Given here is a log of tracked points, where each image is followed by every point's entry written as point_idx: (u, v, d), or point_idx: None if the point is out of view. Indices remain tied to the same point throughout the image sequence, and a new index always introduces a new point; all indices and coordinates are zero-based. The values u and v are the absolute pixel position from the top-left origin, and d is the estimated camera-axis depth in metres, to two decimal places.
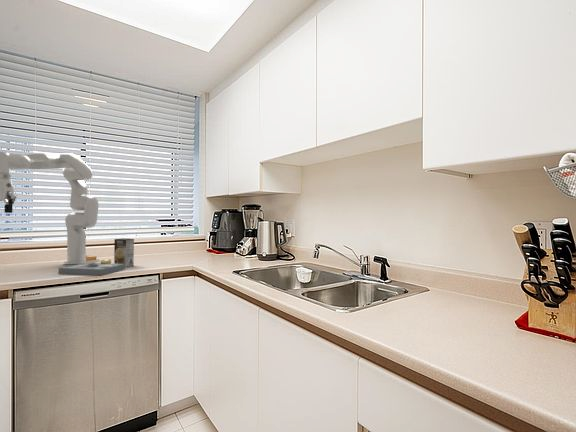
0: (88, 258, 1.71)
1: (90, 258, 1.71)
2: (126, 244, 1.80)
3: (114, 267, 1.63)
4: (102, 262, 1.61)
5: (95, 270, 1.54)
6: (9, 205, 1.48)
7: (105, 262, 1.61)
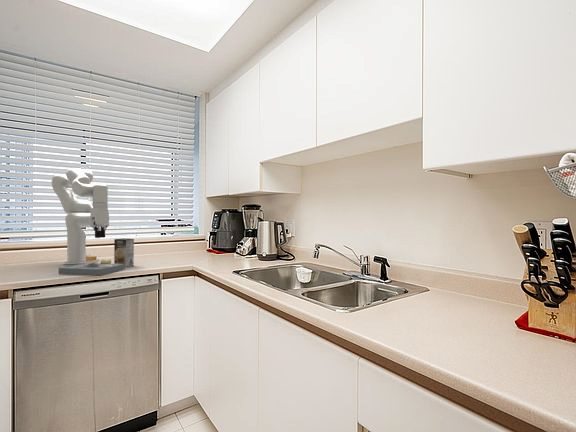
0: (88, 258, 1.71)
1: (90, 258, 1.71)
2: (126, 244, 1.80)
3: (114, 267, 1.63)
4: (102, 262, 1.61)
5: (95, 270, 1.54)
6: None
7: (105, 262, 1.61)
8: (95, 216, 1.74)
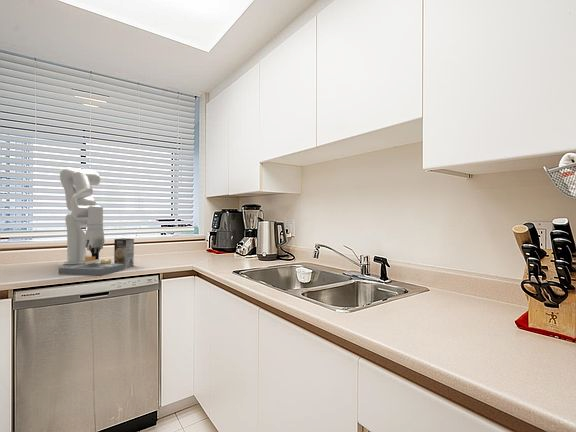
0: (87, 258, 1.70)
1: (89, 258, 1.70)
2: (126, 244, 1.80)
3: (114, 267, 1.63)
4: (102, 262, 1.61)
5: (95, 270, 1.54)
6: None
7: (105, 262, 1.61)
8: (90, 239, 1.70)
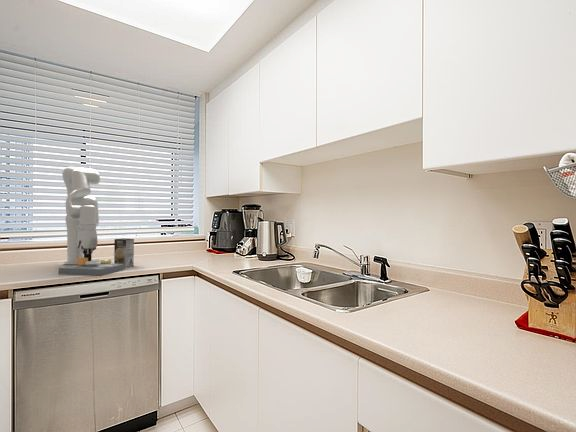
0: (79, 259, 1.65)
1: (81, 259, 1.65)
2: (126, 244, 1.80)
3: (114, 267, 1.63)
4: (102, 262, 1.61)
5: (95, 270, 1.54)
6: None
7: (105, 262, 1.61)
8: (82, 239, 1.65)
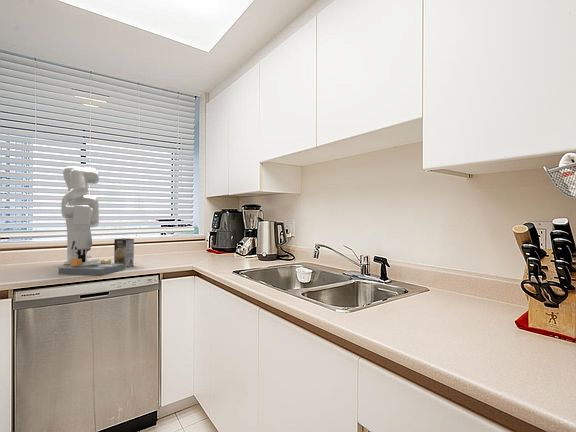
0: (73, 261, 1.61)
1: (75, 261, 1.61)
2: (126, 244, 1.80)
3: (114, 267, 1.63)
4: (102, 262, 1.61)
5: (95, 270, 1.54)
6: None
7: (105, 262, 1.61)
8: (76, 240, 1.61)
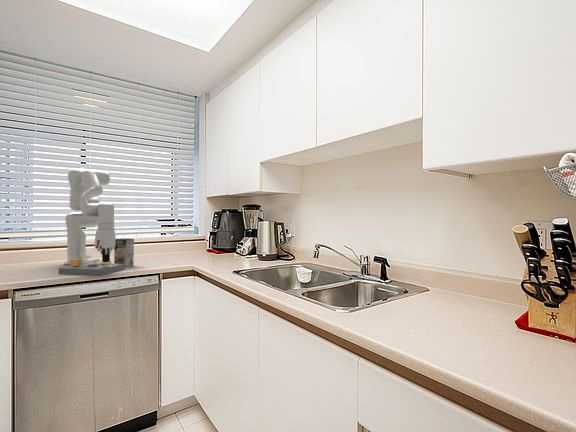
0: (73, 261, 1.61)
1: (75, 261, 1.61)
2: (126, 244, 1.80)
3: (114, 267, 1.63)
4: (102, 264, 1.61)
5: (95, 270, 1.54)
6: None
7: (105, 264, 1.61)
8: (101, 239, 1.58)
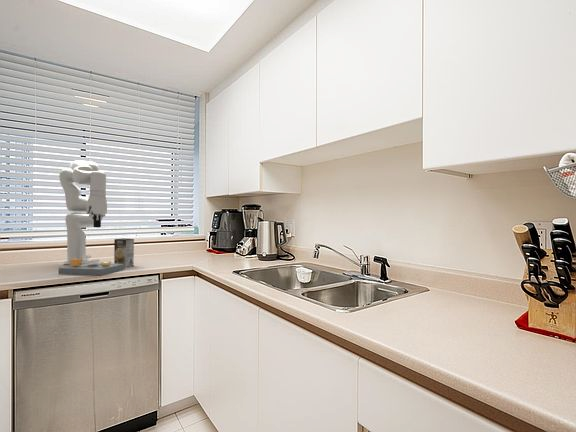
0: (73, 261, 1.61)
1: (75, 261, 1.61)
2: (126, 244, 1.80)
3: (114, 267, 1.63)
4: (102, 264, 1.61)
5: (95, 270, 1.54)
6: None
7: (105, 264, 1.61)
8: (92, 205, 1.66)
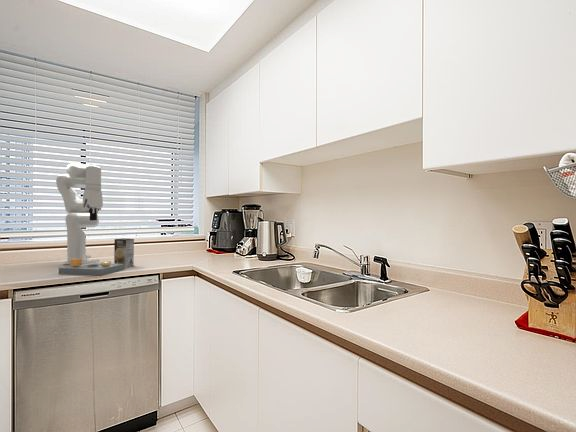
0: (73, 261, 1.61)
1: (75, 261, 1.61)
2: (126, 244, 1.80)
3: (114, 267, 1.63)
4: (102, 264, 1.61)
5: (95, 270, 1.54)
6: None
7: (105, 264, 1.61)
8: (88, 198, 1.70)
